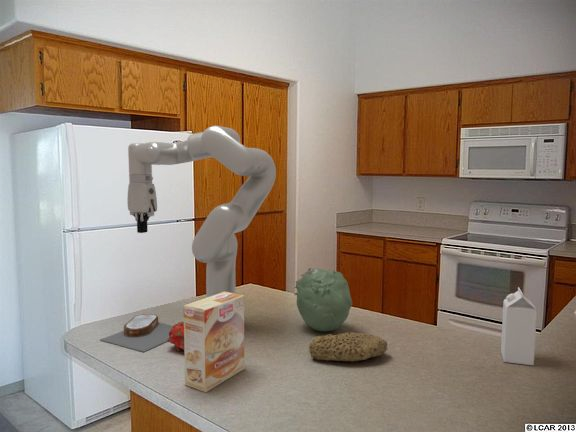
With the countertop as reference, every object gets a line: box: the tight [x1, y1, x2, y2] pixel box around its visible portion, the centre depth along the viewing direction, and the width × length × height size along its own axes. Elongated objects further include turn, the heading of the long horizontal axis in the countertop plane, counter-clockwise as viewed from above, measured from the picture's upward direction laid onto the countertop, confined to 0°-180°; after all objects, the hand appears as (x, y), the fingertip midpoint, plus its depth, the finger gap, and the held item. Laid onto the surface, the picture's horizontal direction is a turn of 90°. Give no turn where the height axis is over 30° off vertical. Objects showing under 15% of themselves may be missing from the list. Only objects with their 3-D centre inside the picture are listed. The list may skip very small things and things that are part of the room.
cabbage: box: [293, 267, 353, 332], centre depth 144 cm, size 16×19×20 cm
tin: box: [123, 313, 159, 337], centre depth 145 cm, size 15×3×8 cm
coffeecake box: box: [183, 292, 246, 393], centre depth 111 cm, size 15×7×20 cm, turn 148°
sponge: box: [308, 331, 388, 362], centre depth 123 cm, size 13×8×20 cm
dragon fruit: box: [167, 321, 184, 352], centre depth 129 cm, size 8×8×12 cm
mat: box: [99, 321, 174, 353], centre depth 140 cm, size 18×20×1 cm
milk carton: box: [500, 286, 538, 366], centre depth 122 cm, size 7×7×19 cm
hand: (142, 232), depth 158 cm, fingers closed
